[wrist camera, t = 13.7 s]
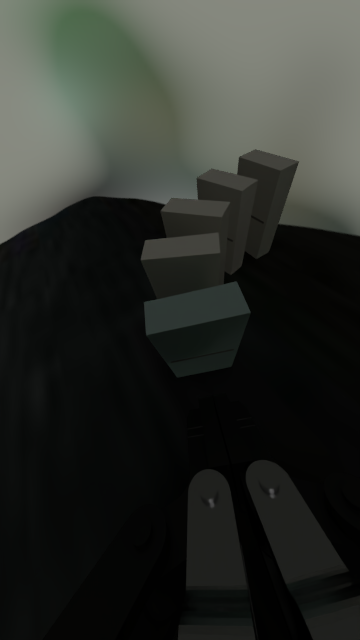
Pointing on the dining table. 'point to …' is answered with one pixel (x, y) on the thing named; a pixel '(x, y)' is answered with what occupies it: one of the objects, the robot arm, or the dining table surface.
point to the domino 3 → (182, 263)
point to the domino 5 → (266, 196)
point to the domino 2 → (198, 222)
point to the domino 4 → (198, 328)
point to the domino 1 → (231, 209)
